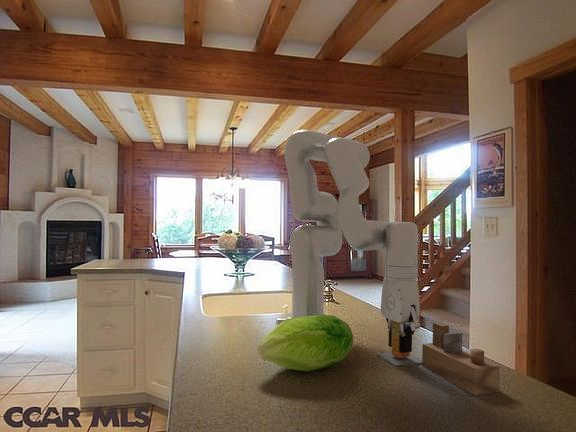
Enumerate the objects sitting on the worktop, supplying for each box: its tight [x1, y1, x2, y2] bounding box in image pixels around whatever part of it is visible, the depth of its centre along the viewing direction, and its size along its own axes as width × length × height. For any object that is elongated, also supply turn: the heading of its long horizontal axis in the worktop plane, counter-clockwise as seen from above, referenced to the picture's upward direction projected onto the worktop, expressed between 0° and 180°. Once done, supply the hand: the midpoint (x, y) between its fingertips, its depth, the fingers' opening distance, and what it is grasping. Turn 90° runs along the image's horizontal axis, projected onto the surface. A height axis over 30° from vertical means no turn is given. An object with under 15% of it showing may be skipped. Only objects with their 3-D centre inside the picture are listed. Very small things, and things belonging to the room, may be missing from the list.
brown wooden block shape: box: [421, 321, 501, 396], centre depth 84 cm, size 6×16×10 cm, turn 18°
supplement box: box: [391, 321, 411, 358], centre depth 95 cm, size 3×4×10 cm
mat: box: [376, 351, 422, 368], centre depth 95 cm, size 8×8×1 cm
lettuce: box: [257, 314, 354, 372], centre depth 88 cm, size 13×23×12 cm, turn 115°
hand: (400, 348), depth 95 cm, fingers closed on supplement box, 3 cm apart
